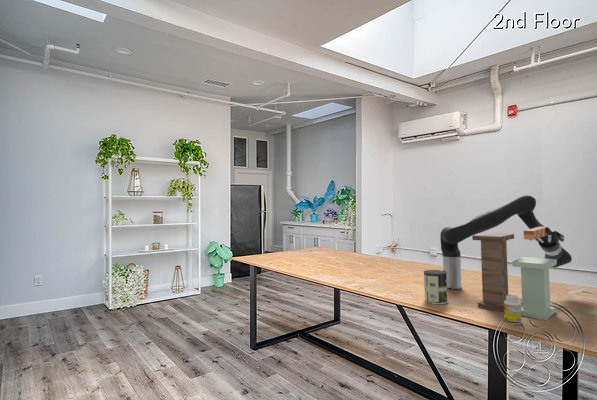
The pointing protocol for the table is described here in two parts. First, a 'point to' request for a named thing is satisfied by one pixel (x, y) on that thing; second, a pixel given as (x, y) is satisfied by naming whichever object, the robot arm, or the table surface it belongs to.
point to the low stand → (535, 286)
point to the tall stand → (494, 269)
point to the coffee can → (435, 286)
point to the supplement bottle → (512, 310)
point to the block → (535, 233)
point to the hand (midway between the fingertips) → (540, 228)
